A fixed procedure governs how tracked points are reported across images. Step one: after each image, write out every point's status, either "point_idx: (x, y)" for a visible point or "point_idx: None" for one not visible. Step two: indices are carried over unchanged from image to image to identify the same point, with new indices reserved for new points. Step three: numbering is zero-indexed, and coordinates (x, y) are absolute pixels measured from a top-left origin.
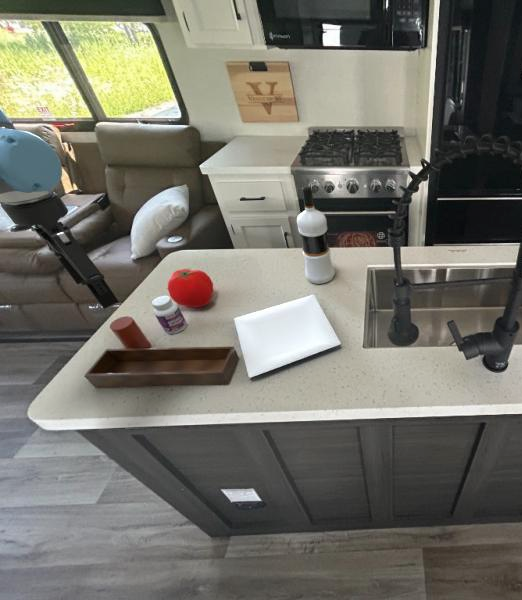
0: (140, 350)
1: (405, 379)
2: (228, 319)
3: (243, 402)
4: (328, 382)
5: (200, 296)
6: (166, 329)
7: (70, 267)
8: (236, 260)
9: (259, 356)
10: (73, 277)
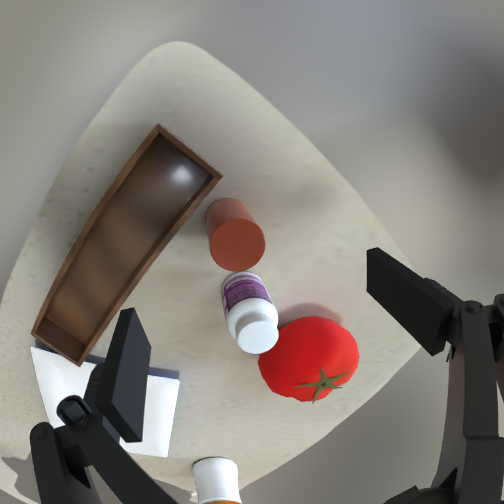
0: (165, 236)
1: (3, 427)
2: (199, 365)
3: (9, 317)
4: (12, 392)
5: (261, 370)
6: (230, 282)
7: (409, 296)
8: (355, 398)
9: (70, 370)
10: (384, 264)
